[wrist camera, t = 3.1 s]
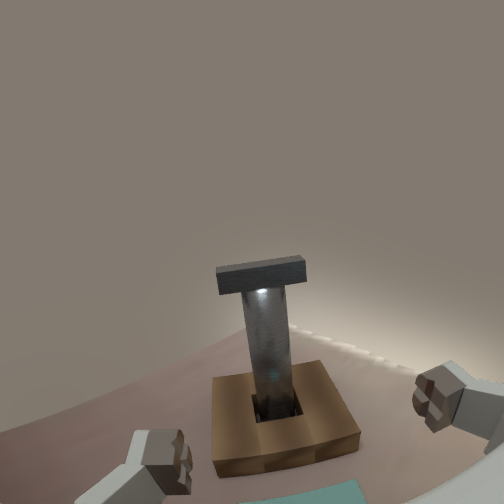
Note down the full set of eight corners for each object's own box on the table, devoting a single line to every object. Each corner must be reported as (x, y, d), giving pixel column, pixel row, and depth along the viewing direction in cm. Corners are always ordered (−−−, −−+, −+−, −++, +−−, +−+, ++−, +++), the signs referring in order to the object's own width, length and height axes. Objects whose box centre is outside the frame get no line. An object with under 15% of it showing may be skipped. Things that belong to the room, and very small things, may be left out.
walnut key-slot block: (219, 478, 21) (212, 460, 20) (217, 396, 34) (212, 377, 33) (357, 450, 22) (360, 431, 21) (320, 378, 35) (319, 359, 34)
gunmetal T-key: (247, 440, 26) (215, 276, 22) (244, 418, 29) (216, 264, 25) (314, 427, 26) (308, 262, 22) (306, 407, 30) (296, 252, 26)
